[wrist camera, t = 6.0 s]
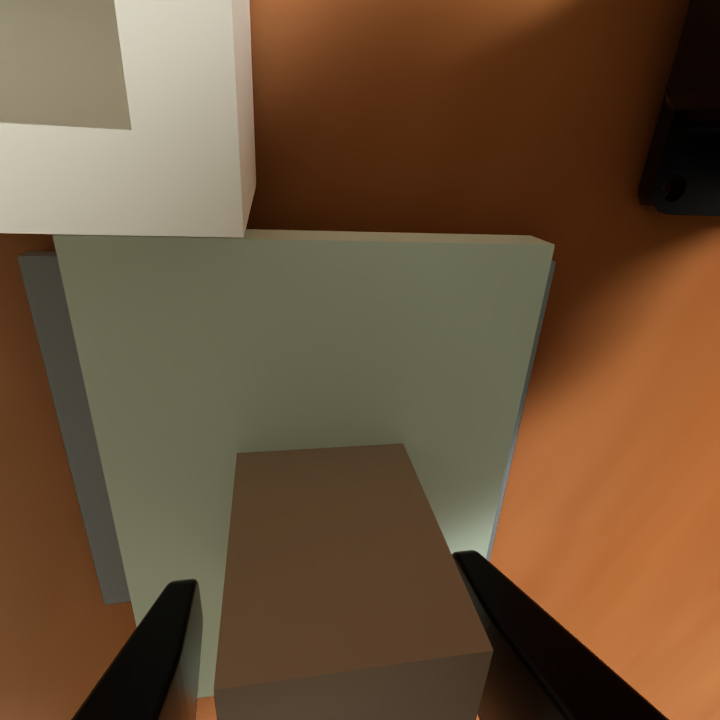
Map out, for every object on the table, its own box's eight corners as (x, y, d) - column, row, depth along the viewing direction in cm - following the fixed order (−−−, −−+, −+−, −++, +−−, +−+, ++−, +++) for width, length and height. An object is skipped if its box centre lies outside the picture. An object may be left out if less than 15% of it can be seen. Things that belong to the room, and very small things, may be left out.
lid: (441, 598, 14) (545, 879, 8) (168, 630, 12) (96, 986, 7) (505, 225, 9) (801, 338, 4) (96, 215, 8) (-219, 360, 3)
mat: (545, 257, 10) (556, 261, 10) (483, 551, 14) (489, 562, 13) (27, 251, 8) (16, 255, 8) (109, 590, 12) (104, 604, 12)
